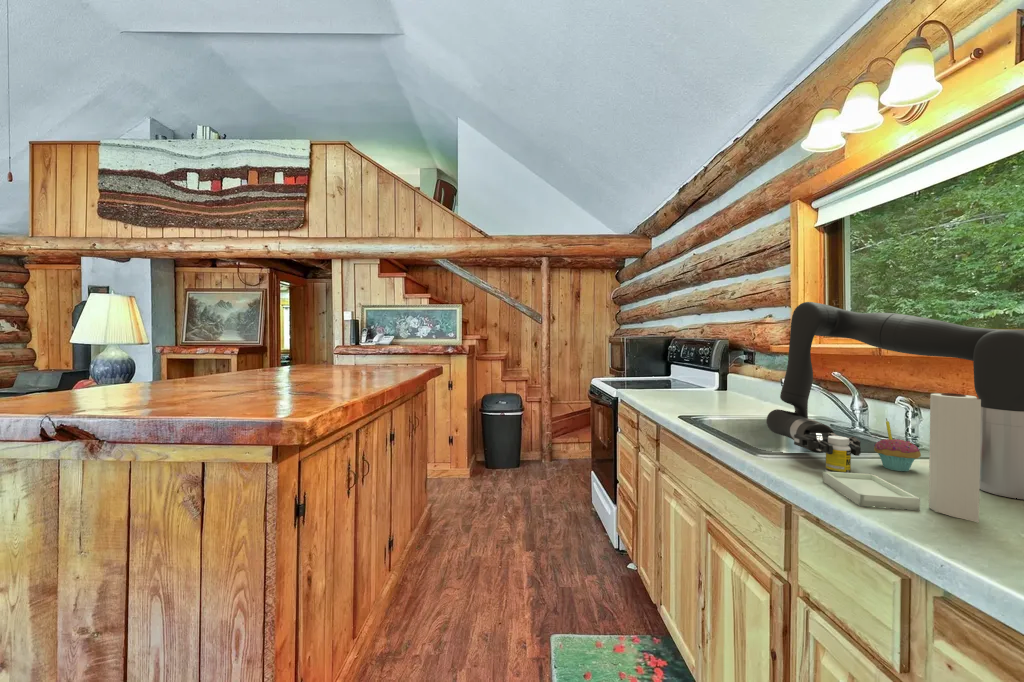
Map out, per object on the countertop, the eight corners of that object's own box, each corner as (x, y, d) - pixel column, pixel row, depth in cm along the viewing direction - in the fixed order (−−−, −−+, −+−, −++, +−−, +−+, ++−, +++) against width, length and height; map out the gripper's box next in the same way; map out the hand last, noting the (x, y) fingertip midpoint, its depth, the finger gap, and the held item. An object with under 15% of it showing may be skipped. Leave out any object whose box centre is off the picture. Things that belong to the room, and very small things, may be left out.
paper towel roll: (927, 503, 87) (929, 391, 86) (972, 511, 83) (974, 394, 82) (930, 515, 81) (932, 395, 81) (978, 524, 77) (980, 398, 77)
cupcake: (878, 470, 108) (878, 420, 108) (870, 461, 116) (870, 414, 115) (925, 475, 104) (926, 423, 104) (913, 466, 112) (914, 417, 111)
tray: (873, 484, 98) (873, 474, 98) (919, 510, 83) (919, 498, 83) (822, 481, 100) (823, 471, 100) (859, 506, 85) (860, 494, 85)
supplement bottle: (850, 478, 102) (850, 440, 102) (825, 474, 105) (825, 437, 105) (850, 473, 106) (851, 436, 106) (826, 469, 109) (826, 434, 109)
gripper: (781, 419, 121) (809, 432, 104) (842, 421, 118) (881, 435, 101) (781, 447, 121) (808, 465, 104) (842, 450, 118) (880, 469, 101)
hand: (844, 450), depth 103 cm, fingers closed on supplement bottle, 4 cm apart
